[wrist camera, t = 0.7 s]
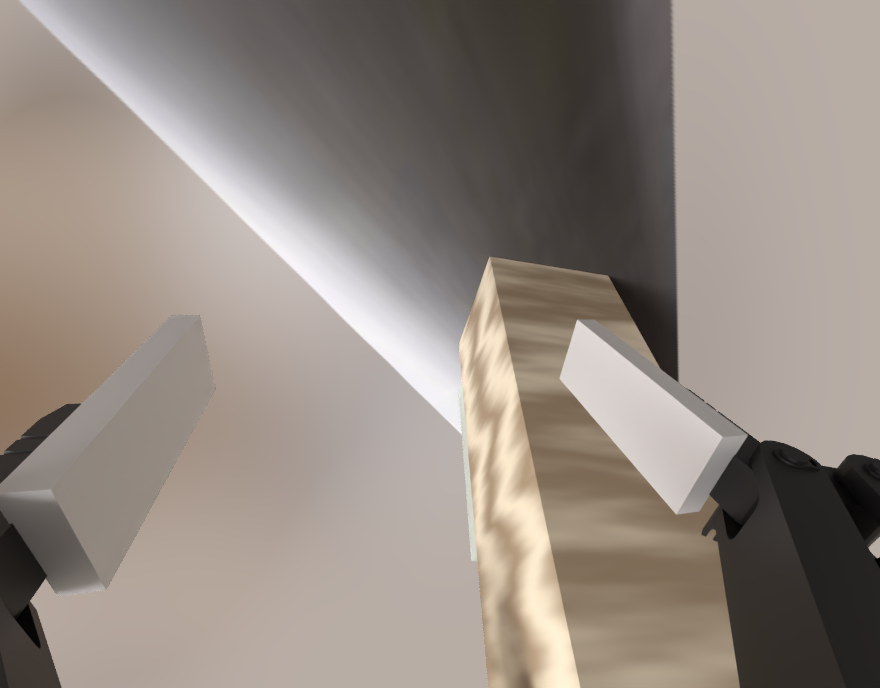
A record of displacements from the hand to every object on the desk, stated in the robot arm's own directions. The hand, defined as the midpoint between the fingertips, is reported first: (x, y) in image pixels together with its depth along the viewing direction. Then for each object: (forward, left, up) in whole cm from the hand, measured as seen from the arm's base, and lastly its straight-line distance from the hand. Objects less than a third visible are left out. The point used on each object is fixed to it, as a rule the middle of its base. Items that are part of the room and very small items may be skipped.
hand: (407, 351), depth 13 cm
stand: (+14, +14, -20) cm, 28 cm away
